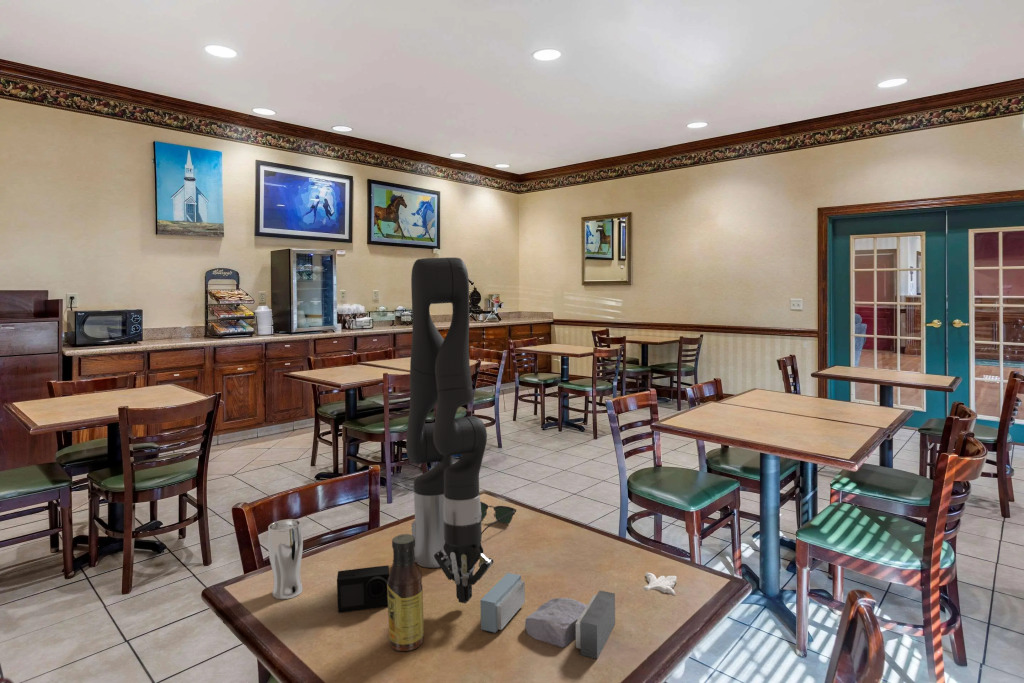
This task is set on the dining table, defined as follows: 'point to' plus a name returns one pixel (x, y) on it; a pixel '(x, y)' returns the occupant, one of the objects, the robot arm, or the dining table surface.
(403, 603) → the sauce bottle
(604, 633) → the block
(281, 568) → the beer glass
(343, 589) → the digital camera
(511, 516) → the sunglasses
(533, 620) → the stone block
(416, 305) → the robot arm
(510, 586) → the block
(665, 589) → the acanthus leaf ornament
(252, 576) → the dining table surface
